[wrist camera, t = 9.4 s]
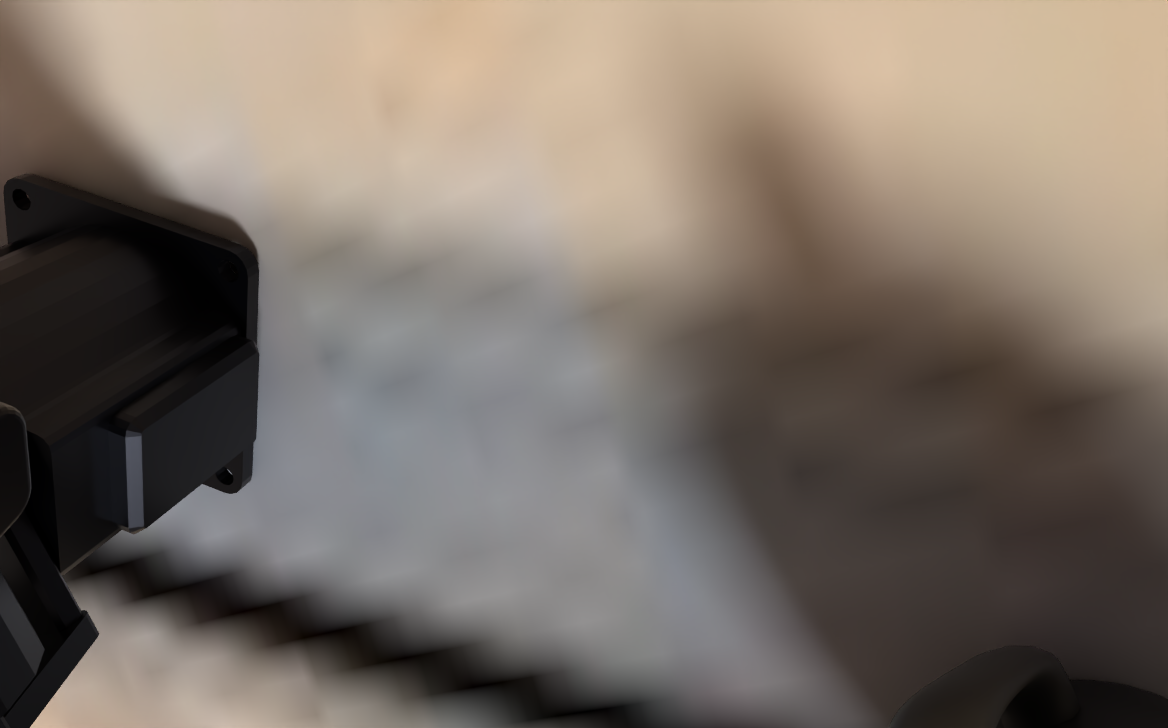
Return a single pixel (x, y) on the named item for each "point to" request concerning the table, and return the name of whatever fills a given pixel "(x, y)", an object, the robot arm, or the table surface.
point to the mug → (1027, 697)
